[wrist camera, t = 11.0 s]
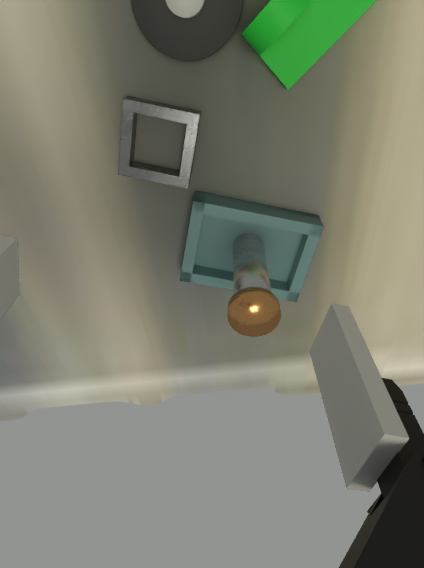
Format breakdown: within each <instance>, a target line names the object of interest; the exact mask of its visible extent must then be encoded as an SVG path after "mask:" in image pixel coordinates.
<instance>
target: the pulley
mask: <svg viewBox="0 0 424 568" xmlns="http://www.w3.org/2000/svg"><path fill="white" fill-rule="evenodd" d="M131 5H132V10H133V13H134V17H135V19H136V22H137V24H138V26H139V28H140V30H141V32H142V33H143V35H144V36H145V37H146V39H147V40H148V41H149V42H150V43H151V44H152V45H153V46H154V47H155V48H156V49H157V50H158V51H160V52H161V53H163V54H165V55H167V56H169V57H171V58H174V59H178V60H184V61H193V60H199V59H202V58H206V57H208V56H210V55H212V54H213V53H215V52H216V51H218V50H219V49H220V48H221V47H222V46H224V45H225V43H226V42H227V41H228V40H229V39H230V37H231V36H232V34H233V33H234V31H235V29H236V27H237V24H238V21H239V19H240V15H241V11H242V6H243V0H131Z"/></svg>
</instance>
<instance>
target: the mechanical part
mask: <svg viewBox="0 0 424 568" xmlns="http://www.w3.org/2000/svg"><path fill="white" fill-rule="evenodd" d="M375 1H376V0H270V1H269V3H268V4H267V5H266V6H265V7H264V8H263V10H262V11H261V12H260V13H259V14H258V15H257V16H256V18H255V19H254V20H253V21H252V22H251V23H250V25H249V26H248V27H247V28H246V29H245V30H244V32H243V33H242V34H241V35H242V36H243V37H244V39H245V40H246V41H247V42H248V43H249V45H250V46H251V47H252V48H253V49H254V50H255V52H256V53H257V54H258V55H259V56H260V58H261V59H262V60H263V61H264V62H265V64H266V65H267V66H268V67H269V68H270V69H271V71H272V72H273V73H274V74H275V75H276V77H277V78H278V79H279V80H280V81H281V83H282V84H283V85H284V86H285V87H286V88H287V89H288V90H289V89H290V88H291V87H292V86H293V85H294V84H295V83H296V82H297V81H298V80H299V79H300V78H301V76H302V75H303V74H304V73H305V72H306V71H307V70H308V69H309V68H310V67H311V66H312V65H313V64H314V63H315V62H316V61H317V60H318V59H319V58H320V57H321V56H322V55H323V54H324V53H325V52H326V51H327V50H328V49H329V48H330V47H331V46H332V45H333V44H334V43H335V42H336V41H337V40H338V39H339V38H340V37H341V36H342V35H343V34H344V33H345V32H346V31H347V30H348V29H349V28H350V27H351V26H352V25H353V24H354V23H355V22H356V20H357V19H358V18H359V17H360V16H361V15H362V14H363V13H364V12H365V11H366V10H367V9H368V8H369V7H370V6H371V5H372V4H373V3H374V2H375Z"/></svg>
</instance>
